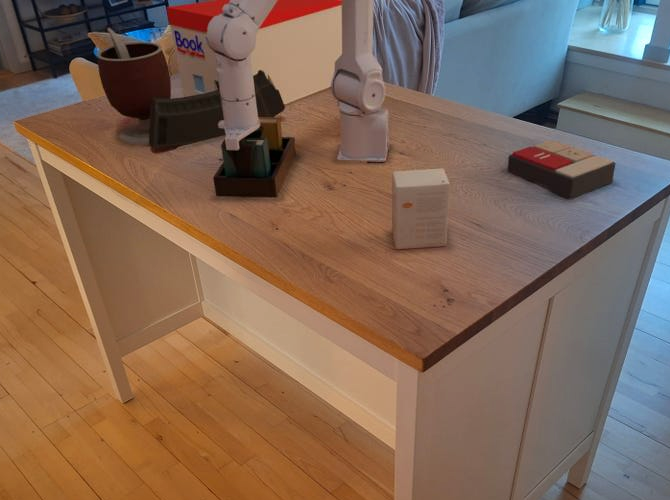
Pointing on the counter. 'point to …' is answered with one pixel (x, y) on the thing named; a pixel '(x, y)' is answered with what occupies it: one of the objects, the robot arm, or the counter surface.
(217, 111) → the magazine
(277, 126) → the mustard book
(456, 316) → the counter surface
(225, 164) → the teal book
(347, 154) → the robot arm
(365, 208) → the counter surface
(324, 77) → the bookstore
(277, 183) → the caddy
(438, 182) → the small box
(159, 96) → the mate gourd
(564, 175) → the red and beige box
